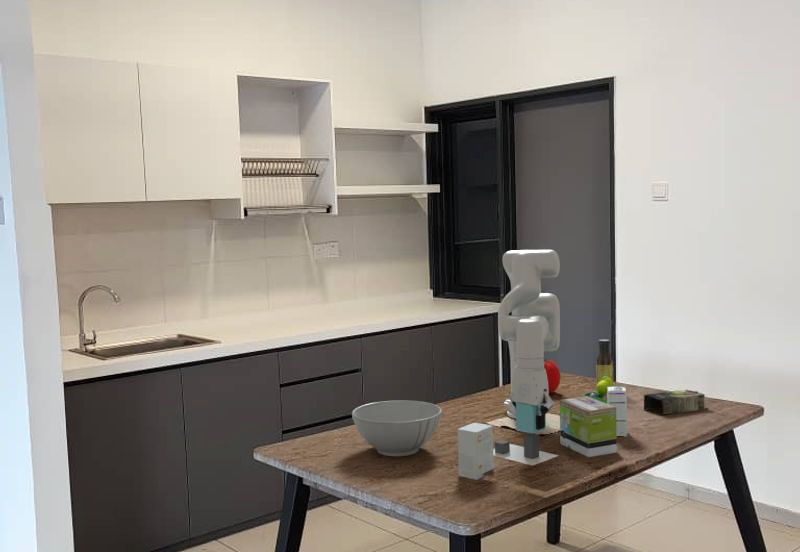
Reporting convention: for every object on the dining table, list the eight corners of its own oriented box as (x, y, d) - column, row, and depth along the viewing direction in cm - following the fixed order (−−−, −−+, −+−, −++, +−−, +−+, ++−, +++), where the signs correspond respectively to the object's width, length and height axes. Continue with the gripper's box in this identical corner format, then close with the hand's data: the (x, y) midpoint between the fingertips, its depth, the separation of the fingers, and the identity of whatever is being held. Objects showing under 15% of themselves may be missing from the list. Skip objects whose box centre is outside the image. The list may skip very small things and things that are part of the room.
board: (482, 456, 242) (482, 442, 242) (509, 447, 250) (509, 433, 250) (532, 469, 229) (532, 454, 229) (559, 459, 237) (558, 445, 237)
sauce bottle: (616, 393, 316) (616, 340, 315) (601, 394, 315) (600, 341, 313) (608, 389, 323) (608, 338, 321) (593, 390, 321) (593, 339, 320)
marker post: (524, 456, 237) (523, 434, 236) (530, 454, 239) (530, 432, 238) (532, 459, 235) (532, 436, 234) (539, 456, 237) (538, 434, 236)
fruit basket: (581, 409, 294) (581, 377, 293) (596, 404, 300) (596, 373, 299) (609, 414, 286) (609, 381, 285) (624, 409, 292) (623, 377, 291)
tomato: (564, 390, 323) (563, 356, 322) (556, 397, 312) (555, 362, 310) (534, 388, 327) (534, 355, 326) (526, 395, 316) (525, 361, 315)
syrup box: (627, 437, 258) (627, 390, 257) (607, 436, 259) (607, 390, 258) (626, 432, 263) (626, 386, 262) (607, 431, 265) (606, 386, 263)
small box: (475, 468, 232) (474, 422, 231) (494, 472, 228) (493, 425, 227) (457, 476, 226) (456, 428, 225) (477, 480, 222) (476, 432, 221)
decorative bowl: (451, 460, 240) (450, 418, 239) (358, 467, 236) (357, 425, 234) (432, 435, 266) (431, 397, 265) (348, 441, 262) (347, 403, 261)
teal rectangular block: (516, 429, 236) (516, 402, 235) (529, 425, 240) (528, 399, 239) (532, 433, 232) (532, 405, 231) (545, 429, 236) (545, 402, 235)
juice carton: (687, 403, 299) (687, 386, 298) (708, 409, 290) (708, 392, 289) (642, 411, 290) (642, 393, 290) (662, 417, 282) (662, 399, 281)
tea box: (558, 447, 249) (558, 398, 248) (587, 443, 253) (587, 395, 251) (588, 461, 235) (587, 409, 234) (618, 456, 239) (617, 405, 238)
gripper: (497, 361, 238) (498, 424, 240) (547, 368, 226) (547, 434, 227) (514, 358, 243) (515, 419, 245) (563, 364, 231) (564, 429, 232)
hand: (531, 426), depth 236 cm, fingers closed on teal rectangular block, 5 cm apart
